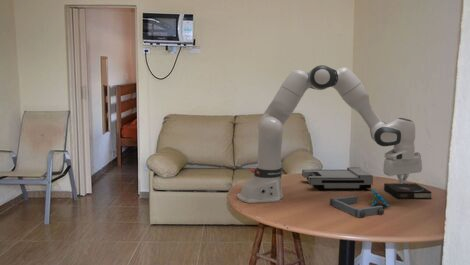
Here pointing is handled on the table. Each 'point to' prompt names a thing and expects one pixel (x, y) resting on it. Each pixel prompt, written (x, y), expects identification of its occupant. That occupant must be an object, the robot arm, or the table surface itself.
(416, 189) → the portable cd player
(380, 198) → the gear
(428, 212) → the table surface
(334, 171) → the game console
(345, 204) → the u-shaped wheeled base
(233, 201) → the table surface
